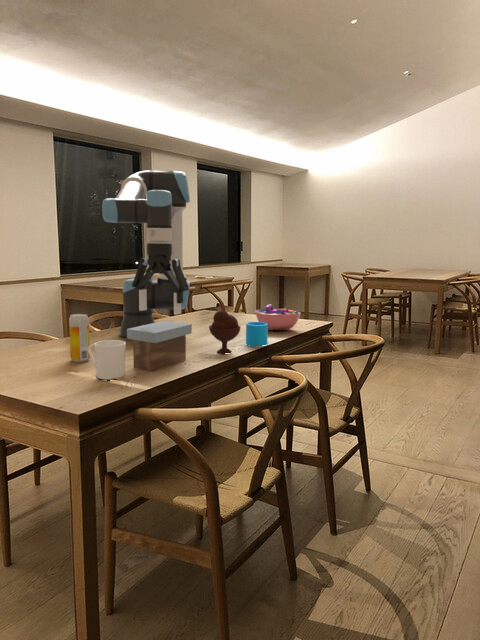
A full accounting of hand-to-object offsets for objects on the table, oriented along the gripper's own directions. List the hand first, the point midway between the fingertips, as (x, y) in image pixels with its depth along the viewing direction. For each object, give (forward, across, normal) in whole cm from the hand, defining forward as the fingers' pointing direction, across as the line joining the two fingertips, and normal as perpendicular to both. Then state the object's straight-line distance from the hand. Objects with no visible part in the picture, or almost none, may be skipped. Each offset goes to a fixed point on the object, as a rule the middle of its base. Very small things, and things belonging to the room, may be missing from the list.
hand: (159, 312), depth 166 cm
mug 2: (+17, +9, +48) cm, 52 cm away
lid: (+8, 0, 0) cm, 8 cm away
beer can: (+18, -27, -8) cm, 33 cm away
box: (+18, 0, 0) cm, 18 cm away
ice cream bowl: (+18, +6, +28) cm, 34 cm away
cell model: (+17, +2, +77) cm, 79 cm away
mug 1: (+18, -6, -17) cm, 26 cm away
